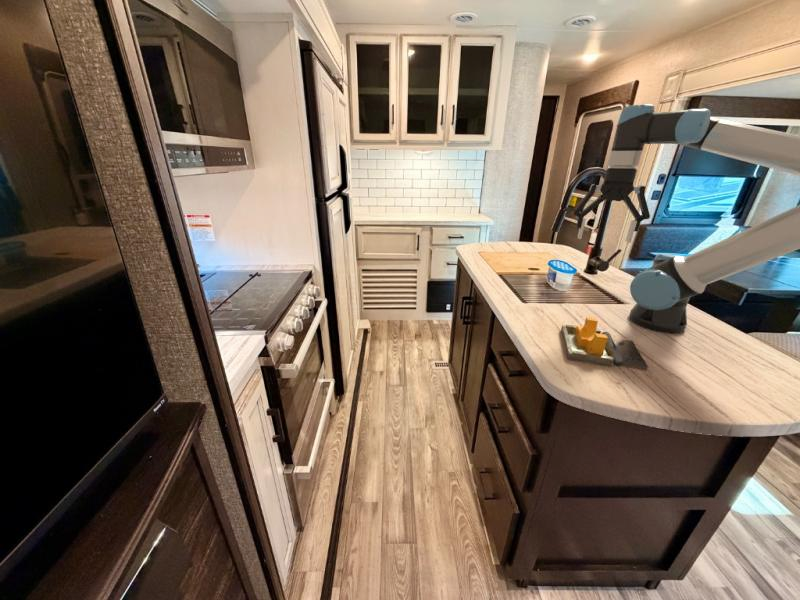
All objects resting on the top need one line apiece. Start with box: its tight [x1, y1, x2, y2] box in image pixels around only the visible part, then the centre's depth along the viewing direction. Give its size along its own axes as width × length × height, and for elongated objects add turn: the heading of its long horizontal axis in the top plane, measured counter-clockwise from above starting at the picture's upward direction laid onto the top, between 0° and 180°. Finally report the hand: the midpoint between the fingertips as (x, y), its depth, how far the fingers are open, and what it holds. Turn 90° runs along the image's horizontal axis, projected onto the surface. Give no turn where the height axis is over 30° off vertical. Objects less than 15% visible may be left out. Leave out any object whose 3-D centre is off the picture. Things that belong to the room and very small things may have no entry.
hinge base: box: [560, 324, 649, 371], centre depth 92 cm, size 19×17×2 cm
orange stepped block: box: [575, 316, 608, 355], centre depth 92 cm, size 12×4×6 cm, turn 164°
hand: (603, 240), depth 102 cm, fingers open, 13 cm apart
